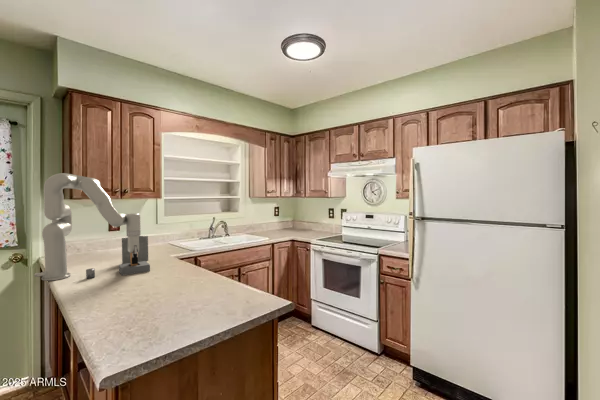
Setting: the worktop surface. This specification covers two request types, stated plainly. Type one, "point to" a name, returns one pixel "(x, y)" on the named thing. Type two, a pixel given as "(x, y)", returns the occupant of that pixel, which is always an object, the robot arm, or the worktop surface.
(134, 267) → the hole block
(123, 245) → the hip flask
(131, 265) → the long pin
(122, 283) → the worktop surface
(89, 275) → the short pin
